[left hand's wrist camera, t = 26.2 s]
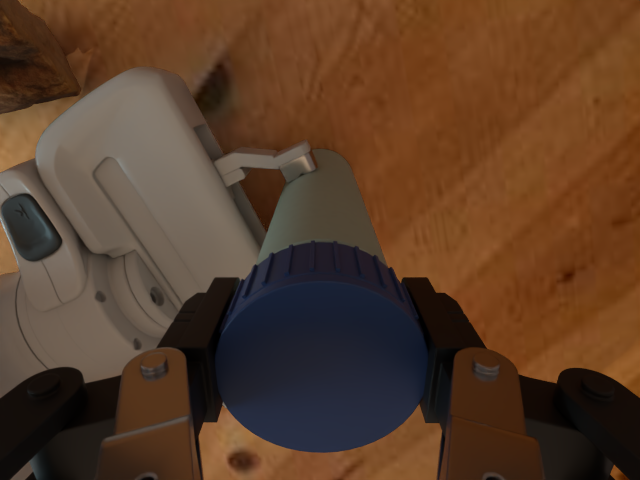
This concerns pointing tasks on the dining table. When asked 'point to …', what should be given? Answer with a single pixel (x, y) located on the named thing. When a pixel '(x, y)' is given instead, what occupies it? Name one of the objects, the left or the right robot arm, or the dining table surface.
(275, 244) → the green bottle
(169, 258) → the right robot arm
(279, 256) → the lid
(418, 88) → the dining table surface
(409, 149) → the dining table surface
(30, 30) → the decorative rock
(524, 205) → the dining table surface
